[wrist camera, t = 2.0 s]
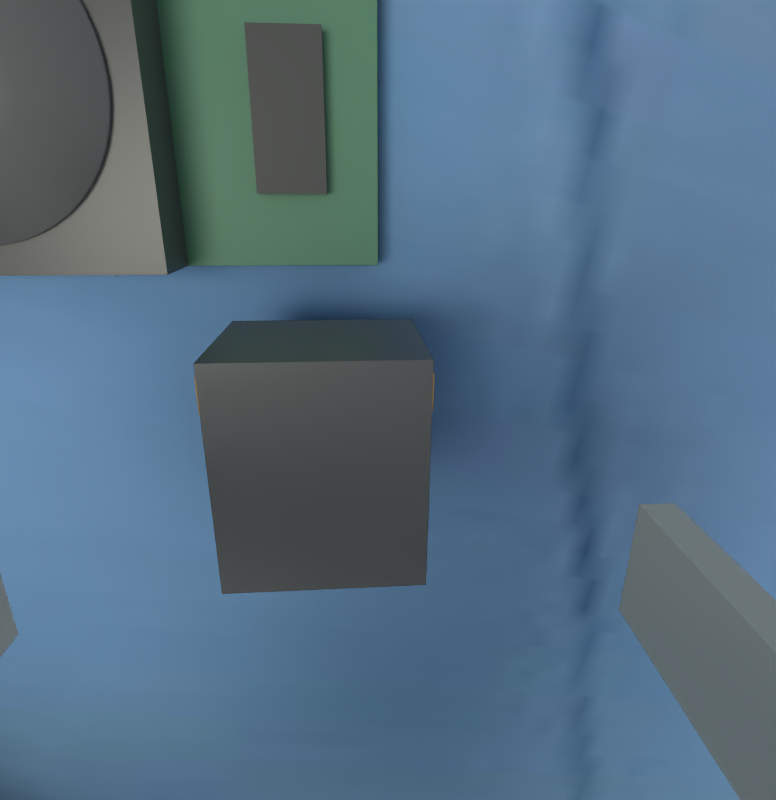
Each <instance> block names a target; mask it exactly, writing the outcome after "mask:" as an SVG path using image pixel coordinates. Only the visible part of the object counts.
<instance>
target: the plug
mask: <svg viewBox="0 0 776 800" xmlns="http://www.w3.org/2000/svg"><path fill="white" fill-rule="evenodd" d="M433 365H434V359H433V358H432V356H431V354H430V352H429V350H428V348H427V347H426V345H425V343H424V341H423V339H422V337H421V335H420V334H419V332H418V330H417V328H416V326H415V324H414V322H413V321H412V319H371V320H282V321H232V322H231V323H230V325H229V326H228V327H227V328H226V329H225V330H224V331H223V332H222V333H221V334H220V335H219V336H218V338H217V339H216V340H215V341H214V342H213V343H212V344H211V345H210V346H209V347H208V348H207V350H206V351H205V352H204V353H203V354H202V355H201V356H200V357H199V358H198V359H197V360H196V361H195V363H194V372H195V378H194V379H195V387H196V395H197V403H198V411H199V415H200V420H201V428H202V436H203V444H204V452H205V460H206V468H207V476H208V484H209V492H210V500H211V508H212V516H213V524H214V532H215V540H216V548H217V556H218V564H219V572H220V580H221V588H222V594H230V593H252V592H275V591H297V590H319V589H341V588H364V587H386V586H408V585H426V570H427V540H428V511H429V482H430V452H431V423H432V409H433V402H434V372H433Z"/></svg>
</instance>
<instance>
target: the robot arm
mask: <svg viewBox="0 0 776 800" xmlns="http://www.w3.org/2000/svg"><path fill="white" fill-rule="evenodd" d="M619 611H620V612H621V614H622V615H623V617H624V618H625V620H626V622H627V623H628V625H629V626H630V628H631V629H632V631H633V633H634V634H635V636H636V637H637V639H638V640H639V642H640V644H641V645H642V647H643V648H644V650H645V651H646V653H647V655H648V656H649V658H650V659H651V661H652V662H653V664H654V665H655V667H656V669H657V670H658V672H659V673H660V675H661V676H662V678H663V680H664V681H665V683H666V684H667V686H668V687H669V689H670V691H671V692H672V694H673V695H674V697H675V698H676V700H677V702H678V703H679V705H680V706H681V708H682V709H683V711H684V713H685V714H686V716H687V717H688V719H689V720H690V722H691V724H692V725H693V727H694V728H695V730H696V731H697V733H698V735H699V736H700V738H701V739H702V741H703V742H704V744H705V745H706V747H707V749H708V750H709V752H710V753H711V755H712V756H713V758H714V760H715V761H716V763H717V764H718V766H719V767H720V769H721V771H722V772H723V774H724V775H725V777H726V778H727V780H728V782H729V783H730V785H731V786H732V788H733V789H734V791H735V793H736V794H737V796H738V797H739V799H740V800H776V600H775V599H774V598H773V597H772V596H771V595H770V594H769V593H767V592H766V591H765V590H764V589H763V588H762V587H761V586H760V585H759V584H758V583H757V582H756V581H755V580H754V579H753V578H752V577H751V576H750V575H749V574H748V573H747V572H746V571H745V570H744V569H743V568H742V567H741V566H739V565H738V564H737V563H736V562H735V561H734V560H733V559H732V558H731V557H730V556H729V555H728V554H727V553H726V552H725V551H724V550H723V549H722V548H721V547H720V546H719V545H718V544H717V543H716V542H715V541H714V540H713V539H711V538H710V537H709V536H708V535H707V534H706V533H705V532H704V531H703V530H702V529H701V528H700V527H699V526H698V525H697V524H696V523H695V522H694V521H693V520H692V519H691V518H690V517H689V516H688V515H687V514H686V513H685V512H683V511H682V510H681V509H680V508H679V507H678V506H677V505H676V504H675V503H668V504H639V509H638V514H637V520H636V525H635V530H634V535H633V540H632V545H631V551H630V556H629V561H628V566H627V571H626V576H625V582H624V587H623V592H622V597H621V602H620V607H619ZM17 635H18V631H17V628H16V625H15V622H14V618H13V615H12V612H11V608H10V605H9V602H8V598H7V595H6V592H5V588H4V585H3V582H2V578H1V575H0V657H1V656H2V655H3V653H4V652H5V651H6V649H7V648H8V647H9V645H10V644H11V643H12V642H13V640H14V639H15V638H16V636H17Z"/></svg>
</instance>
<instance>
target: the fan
mask: <svg viewBox="0 0 776 800" xmlns="http://www.w3.org/2000/svg"><path fill="white" fill-rule="evenodd" d="M186 266H188V260H187V251H186V243H185V235H184V226H183V218H182V210H181V202H180V193H179V185H178V177H177V168H176V160H175V152H174V144H173V135H172V127H171V119H170V110H169V102H168V94H167V86H166V77H165V69H164V61H163V52H162V44H161V36H160V28H159V19H158V11H157V3H156V0H0V276H1V275H168V274H170V273H172V272H175V271H177V270H179V269H182V268H184V267H186Z"/></svg>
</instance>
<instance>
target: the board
mask: <svg viewBox="0 0 776 800" xmlns="http://www.w3.org/2000/svg"><path fill="white" fill-rule="evenodd" d="M156 3H157V11H158V19H159V28H160V36H161V44H162V52H163V61H164V69H165V77H166V86H167V94H168V102H169V110H170V119H171V127H172V135H173V144H174V152H175V160H176V168H177V177H178V185H179V193H180V202H181V210H182V218H183V226H184V235H185V243H186V251H187V260H188V266H223V265H378V138H377V0H156Z"/></svg>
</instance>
